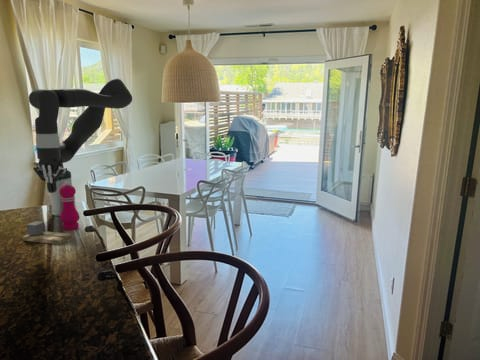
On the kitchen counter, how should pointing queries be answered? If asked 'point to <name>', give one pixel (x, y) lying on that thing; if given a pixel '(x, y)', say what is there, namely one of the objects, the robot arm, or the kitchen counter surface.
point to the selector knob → (35, 228)
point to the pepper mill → (68, 208)
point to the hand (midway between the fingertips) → (52, 192)
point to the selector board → (49, 237)
